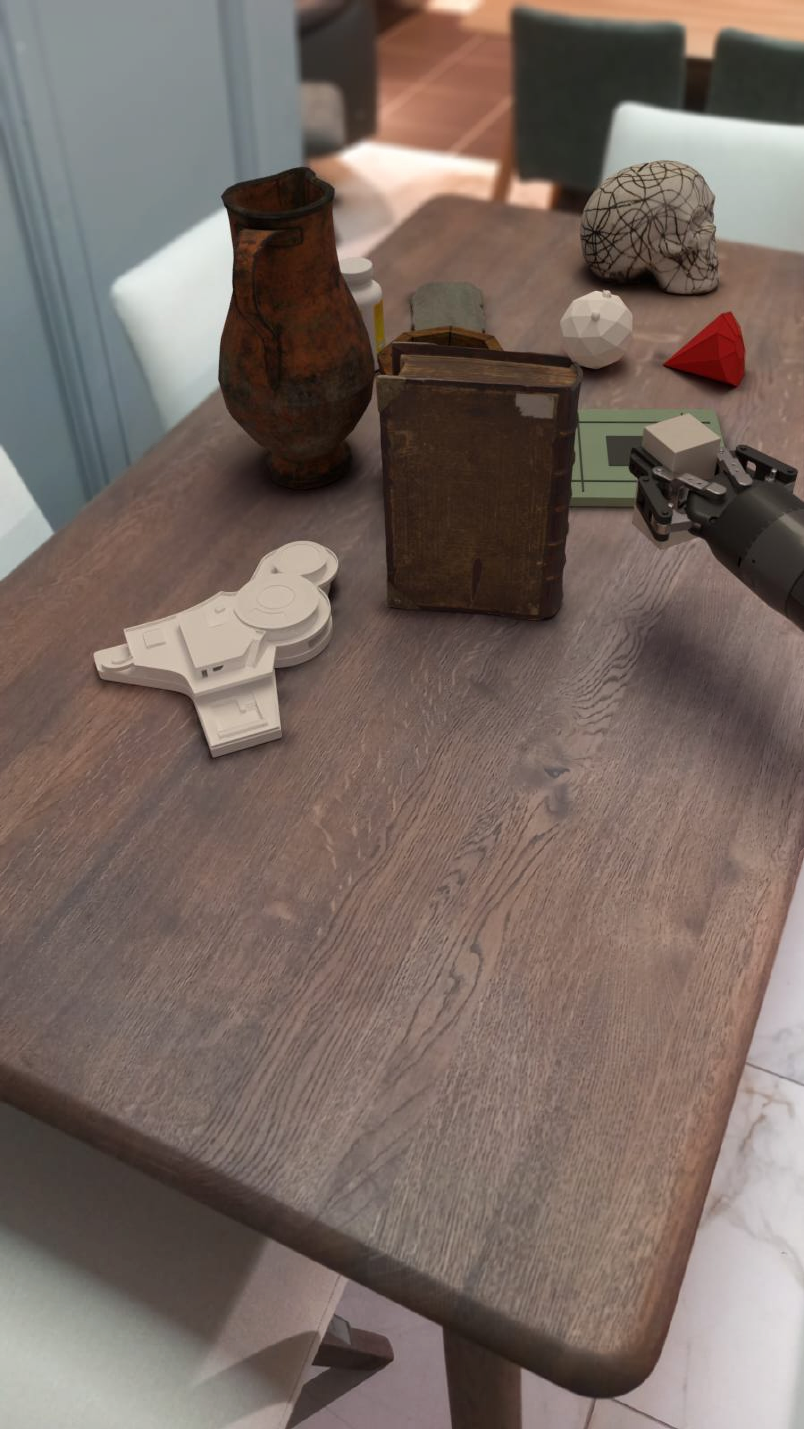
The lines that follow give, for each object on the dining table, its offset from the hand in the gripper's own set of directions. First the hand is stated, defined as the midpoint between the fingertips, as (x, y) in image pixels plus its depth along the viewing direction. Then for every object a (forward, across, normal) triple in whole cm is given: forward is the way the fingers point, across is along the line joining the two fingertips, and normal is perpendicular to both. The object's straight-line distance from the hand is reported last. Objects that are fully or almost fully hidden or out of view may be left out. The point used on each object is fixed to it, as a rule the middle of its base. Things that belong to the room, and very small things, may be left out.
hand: (659, 448), depth 96 cm
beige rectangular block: (-3, 0, +7) cm, 7 cm away
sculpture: (+58, -39, +16) cm, 72 cm away
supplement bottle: (+55, +6, +16) cm, 57 cm away
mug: (+24, +6, +16) cm, 29 cm away
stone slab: (+57, -8, +16) cm, 60 cm away
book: (+6, +15, +16) cm, 23 cm away
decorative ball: (+40, -21, +16) cm, 48 cm away
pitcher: (+35, +22, +16) cm, 44 cm away
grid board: (+20, -12, +16) cm, 28 cm away
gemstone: (+31, -30, +16) cm, 46 cm away
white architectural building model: (+9, +38, +16) cm, 43 cm away
